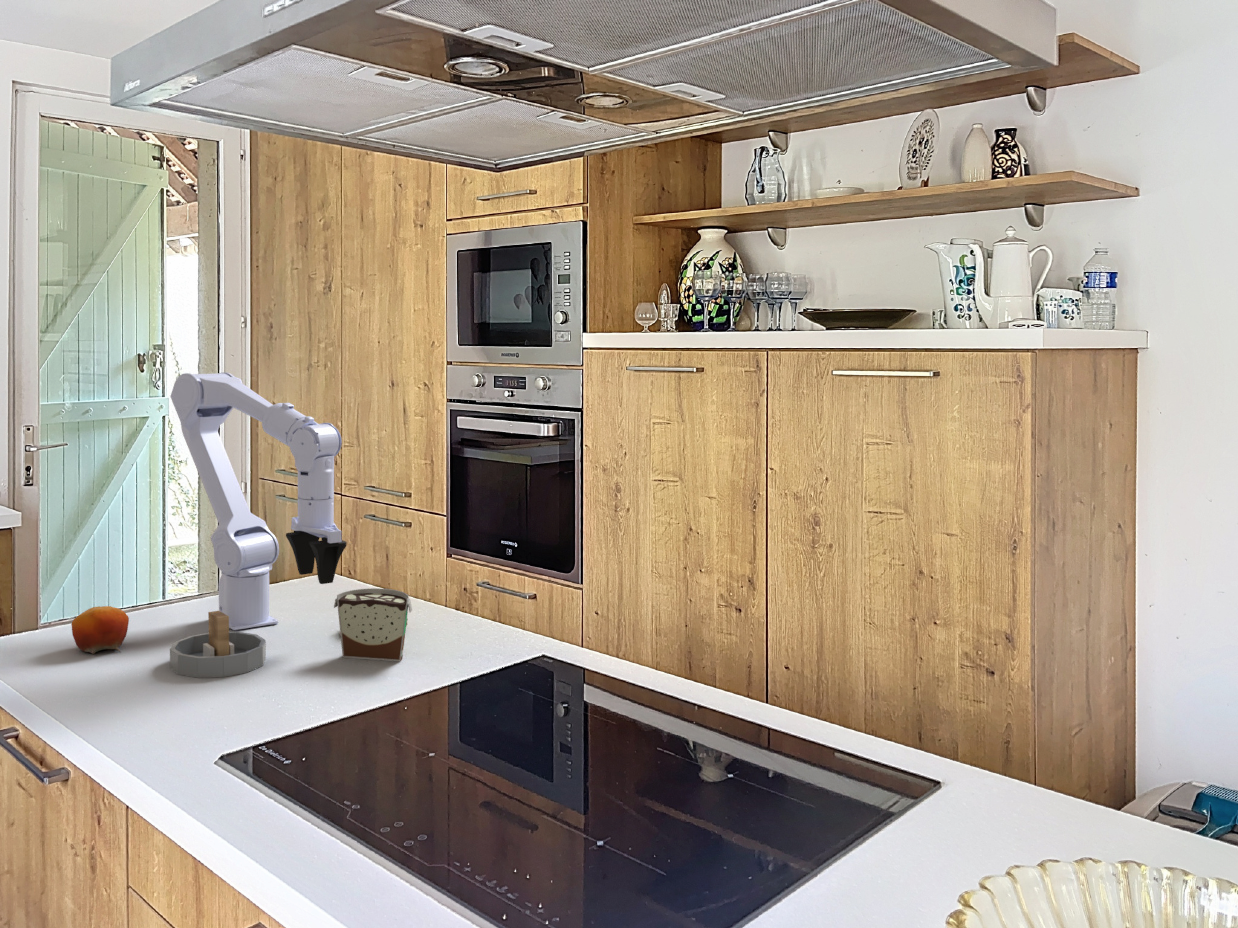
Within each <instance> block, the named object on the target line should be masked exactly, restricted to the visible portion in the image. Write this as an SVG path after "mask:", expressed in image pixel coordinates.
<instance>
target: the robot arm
mask: <svg viewBox="0 0 1238 928" xmlns="http://www.w3.org/2000/svg"><path fill="white" fill-rule="evenodd" d="M170 400H171V402H172V404H173V407H174V409H175V411H176V414H177V416H178V418H179V422H180V427H181V432H182V435H183V436H182V437H184V440H185V443H186V445H187V448H188V450H189V453H190V455H191V458H192V460H193V462H194V463H193V464H194V465H195V468H196V470H197V473H198V475H199V477H200V480H201V483H202V485H203V488H204V490H205V493H206V495H207V498H208V501H209V503H210V505H211V507H212V510H213V513H214V516H215V519H216V520H217V523H218V525H217V527H216V529H215V530H214V531H213V533H212V534H211V537H210V541H211V543H212V546H213V556H214V557H213V558H214V562H215V565H216V567H217V568H218V569H219V570H220V571H221V576H220V578H219V581H218V611H220V612H222V613H224V614H225V615H227V616H229V629H231V630H232V631H238V630H245V629H249V628H250V629H251V628H257V627H263V626H269V625H276V624H279V620H278V619H276V618H275V617H273V616H271V615H270V571H272V570H273V564H274V563H275V562H276V561H277V560H278V557H279V554H280V545H279V541H278V539H277V537H276V536H275V534H274V533H273V532H272V531H270V528H269V527H268V525H267V521H266V520H264V519H262V518H260V516H257V515H255V514H254V513H252V512H251V510H250V508H249V504H248V503H247V501H246V498H245V495H244V492H243V491H242V488H241V485H240V482H239V481H238V479H237V476H236V474H235V470H234V469H233V466H232V463H231V461H230V458H229V455H228V454H227V451H226V448H225V446H224V444H223V440H222V439H221V436H220V434H219V428H220V427H221V425H222V424H223V423H225V422H226V420H227V418H228V417H229V415H230V414H231V413H232V410H233V409H235V410H237V411H239V412H242V413H243V414H245V415H247V416H249V417H251V418H253V419H254V420H257V421H259V422H261V426H262V429H263V432H265V433H266V434H267V435H268V436H270V437H272V438H274V439H276V440H277V441H278V442H281V443H282V444H283V445H286V446H288V447H289V451H290V453H291V455H292V456H293V459H294V467H295V468H296V470H297V516H293V517H291V525H290V530H292V532H286V534H285V537H286V539H287V541H288V542H289V544H290V546H291V549H292V552H293V555H294V558H295V563H296V568H297V571H298V574H299V575H301V576H303V575H304V576H305V575H310V574H313V572H314V567H315V565H316V572H317V578H318V579H317V580H318V583H319V584H320V585H326V584H333V582H334V579H335V575H336V571H337V567H338V564H339V562H340V558H341V556H342V554H343V552H344V551H345V549H346V548H347V543H348V542H347V541H346V540H343V539H342V530H341V529H339V528H338V526H337V525H336V523H335V522H334V521H335V514H334V513H335V509H334V508H335V503H334V502H335V499H334V498H335V457H336V456H337V455H338V454H339V453H340V451H341V449H342V444H343V443H342V442H343V441H342V435H341V433H340V431H339V429H338V428H337V427H335V426H334V425H333V423H331V422H323V423H318V422H316V421H315V418H314V417H313V416H311V415H309V416H306V415H305V414H303V413H301V412H300V411H298V410H296V409H295V408H294V407H295V405H294V404H292V403H291V402H278V403H275V404H273V403H271V402H270V401H269V400H267V399H266V398H264V397H262V396H261V395H260V394H258V393H257V392H255V391H254V390H252V389H251V388H250V387H248V386H247V385H246V384H244V383H243V381H242V379H241V378H240V377H237V376H234V374H232V373H230V372H225V371H223V372H219V373H216V372H215V373H190V372H189V373H188V372H185V373H181V375H179V376H177V378H176V379H175V381H174V383H173V387H172V390H171V393H170ZM320 539H321V540H320ZM315 563H316V564H315Z"/></svg>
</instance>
